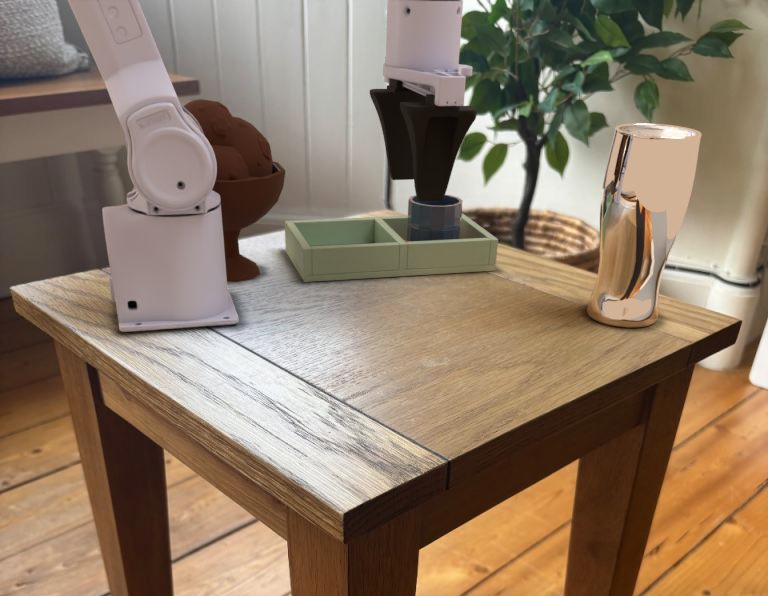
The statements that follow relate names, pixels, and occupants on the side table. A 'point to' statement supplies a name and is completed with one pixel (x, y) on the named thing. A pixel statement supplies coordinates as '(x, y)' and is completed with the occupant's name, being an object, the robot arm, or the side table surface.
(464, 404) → the side table surface
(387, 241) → the tray
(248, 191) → the ice cream bowl
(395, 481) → the side table surface
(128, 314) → the robot arm
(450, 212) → the handleless cup
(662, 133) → the beer glass
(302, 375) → the side table surface
